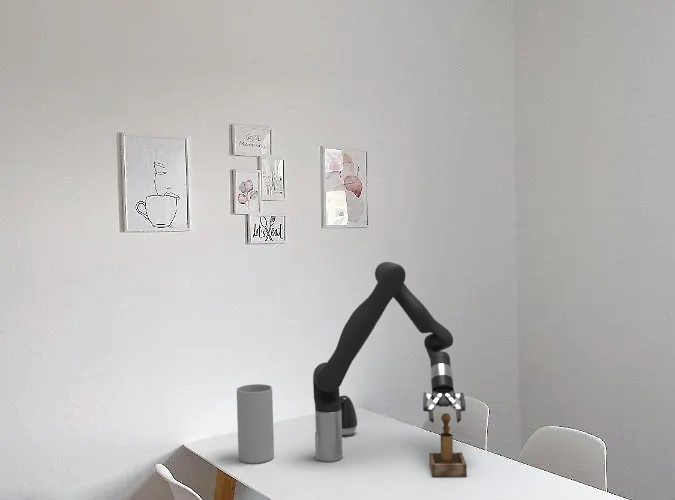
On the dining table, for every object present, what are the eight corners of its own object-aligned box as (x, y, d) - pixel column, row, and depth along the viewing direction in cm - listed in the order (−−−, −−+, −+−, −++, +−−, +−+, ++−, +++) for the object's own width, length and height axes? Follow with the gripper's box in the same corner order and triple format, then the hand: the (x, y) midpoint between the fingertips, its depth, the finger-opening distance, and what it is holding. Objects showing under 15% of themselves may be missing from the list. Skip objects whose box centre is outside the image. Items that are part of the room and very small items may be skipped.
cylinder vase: (231, 459, 243) (229, 389, 243) (258, 450, 253) (256, 382, 252) (254, 466, 235) (252, 394, 234) (281, 457, 244) (279, 387, 243)
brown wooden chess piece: (456, 471, 223) (455, 416, 223) (436, 470, 224) (435, 416, 224) (457, 464, 230) (456, 411, 229) (437, 463, 231) (436, 410, 230)
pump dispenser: (328, 437, 266) (327, 398, 266) (336, 429, 276) (335, 391, 276) (353, 438, 263) (352, 399, 263) (360, 430, 273) (359, 393, 273)
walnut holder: (432, 477, 221) (431, 464, 221) (429, 464, 233) (429, 452, 233) (466, 476, 221) (466, 464, 220) (462, 464, 233) (461, 452, 232)
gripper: (421, 374, 238) (424, 415, 227) (463, 373, 237) (467, 415, 226) (421, 385, 244) (423, 427, 233) (461, 385, 243) (466, 426, 232)
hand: (445, 421), depth 229 cm, fingers open, 8 cm apart
